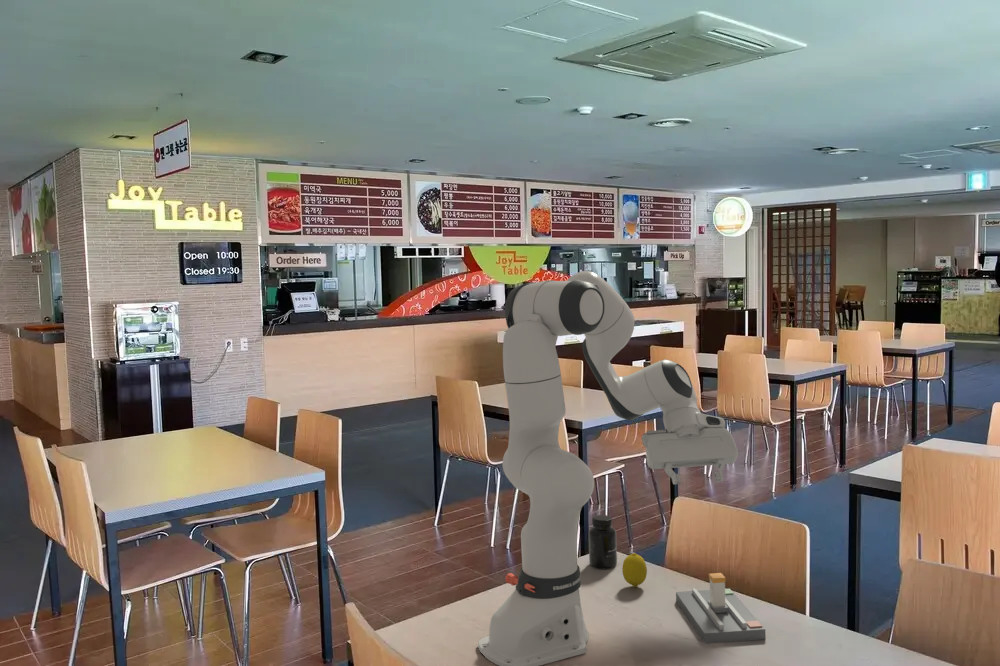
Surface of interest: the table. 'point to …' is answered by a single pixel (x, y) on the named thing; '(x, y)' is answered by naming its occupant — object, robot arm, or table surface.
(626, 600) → the table surface
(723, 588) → the breaker lever
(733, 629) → the switch panel
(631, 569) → the lemon
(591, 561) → the supplement bottle
